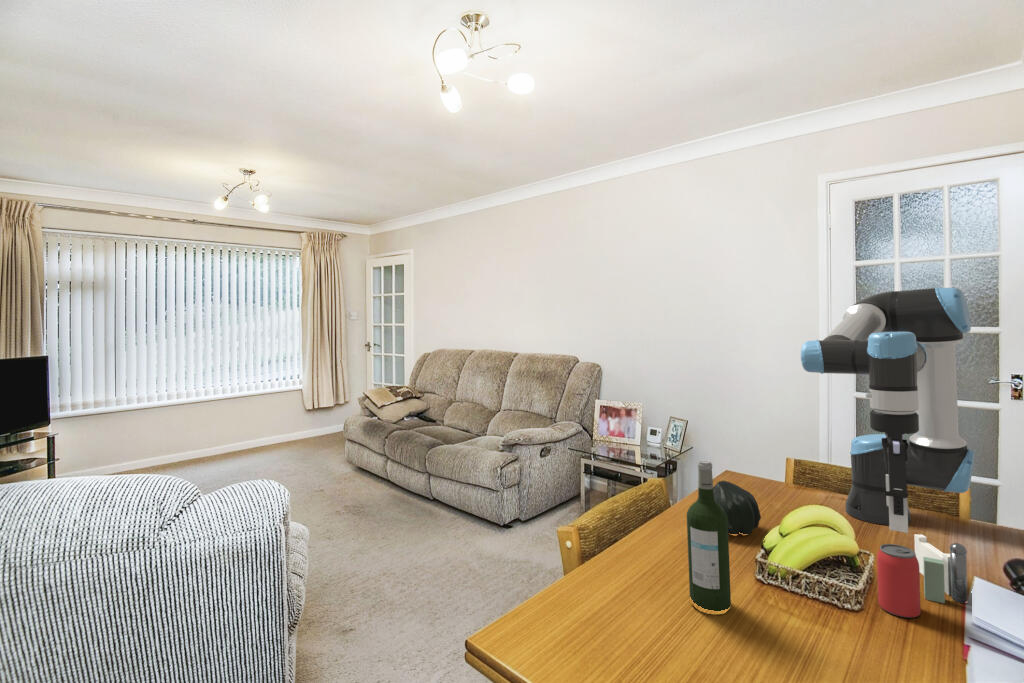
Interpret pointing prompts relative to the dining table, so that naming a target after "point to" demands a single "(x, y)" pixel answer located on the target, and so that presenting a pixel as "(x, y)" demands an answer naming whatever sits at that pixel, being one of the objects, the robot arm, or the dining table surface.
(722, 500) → the squash
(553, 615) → the dining table surface
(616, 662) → the dining table surface
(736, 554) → the dining table surface
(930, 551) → the gate
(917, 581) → the beer can
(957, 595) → the hinge post
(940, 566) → the block
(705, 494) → the wine bottle
